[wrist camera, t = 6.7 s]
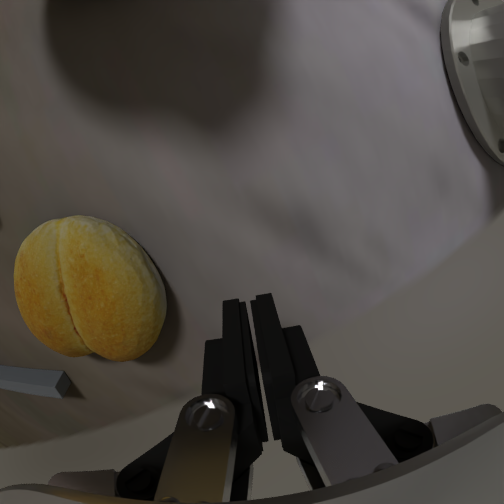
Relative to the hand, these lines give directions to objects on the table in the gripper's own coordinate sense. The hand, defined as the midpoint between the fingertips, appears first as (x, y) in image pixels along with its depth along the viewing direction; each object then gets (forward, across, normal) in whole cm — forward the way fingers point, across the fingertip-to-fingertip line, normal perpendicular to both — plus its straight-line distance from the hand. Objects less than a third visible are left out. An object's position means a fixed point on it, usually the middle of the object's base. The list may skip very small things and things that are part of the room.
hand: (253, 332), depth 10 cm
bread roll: (+6, +9, 0) cm, 10 cm away
